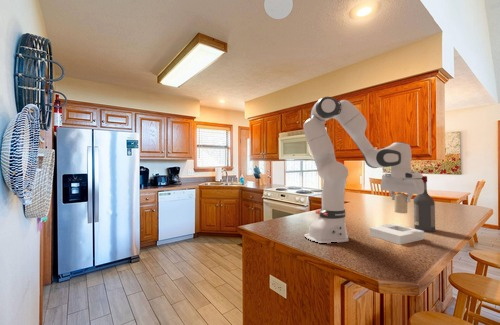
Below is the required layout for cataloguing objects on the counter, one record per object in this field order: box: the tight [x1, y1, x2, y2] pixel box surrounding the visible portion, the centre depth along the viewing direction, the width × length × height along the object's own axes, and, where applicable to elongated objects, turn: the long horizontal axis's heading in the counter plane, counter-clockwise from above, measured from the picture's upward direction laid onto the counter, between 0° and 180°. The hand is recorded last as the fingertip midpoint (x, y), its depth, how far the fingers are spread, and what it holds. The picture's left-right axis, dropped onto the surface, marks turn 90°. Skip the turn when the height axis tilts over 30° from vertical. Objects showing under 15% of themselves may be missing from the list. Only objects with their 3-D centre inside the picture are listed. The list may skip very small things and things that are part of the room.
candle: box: [394, 192, 409, 214], centre depth 118 cm, size 6×6×10 cm
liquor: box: [413, 175, 436, 233], centre depth 129 cm, size 9×9×30 cm
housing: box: [369, 223, 425, 246], centre depth 117 cm, size 18×16×4 cm
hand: (400, 201), depth 118 cm, fingers closed on candle, 5 cm apart
